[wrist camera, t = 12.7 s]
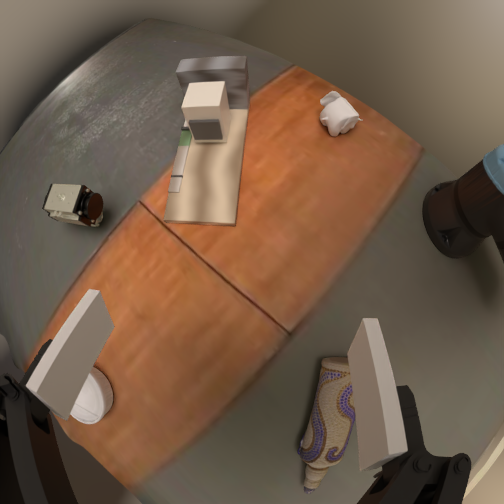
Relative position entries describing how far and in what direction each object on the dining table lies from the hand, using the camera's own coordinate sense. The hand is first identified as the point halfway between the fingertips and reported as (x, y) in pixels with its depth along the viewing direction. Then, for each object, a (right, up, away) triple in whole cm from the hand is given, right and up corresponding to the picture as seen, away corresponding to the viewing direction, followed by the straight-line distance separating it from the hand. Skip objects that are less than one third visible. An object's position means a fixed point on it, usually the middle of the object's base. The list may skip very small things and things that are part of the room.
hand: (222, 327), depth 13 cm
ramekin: (-28, -22, +26) cm, 44 cm away
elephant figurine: (+19, +29, +36) cm, 50 cm away
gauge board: (-6, +22, +35) cm, 42 cm away
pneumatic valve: (-29, +10, +33) cm, 45 cm away
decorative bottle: (+12, -24, +24) cm, 36 cm away
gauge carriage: (-7, +27, +34) cm, 44 cm away
